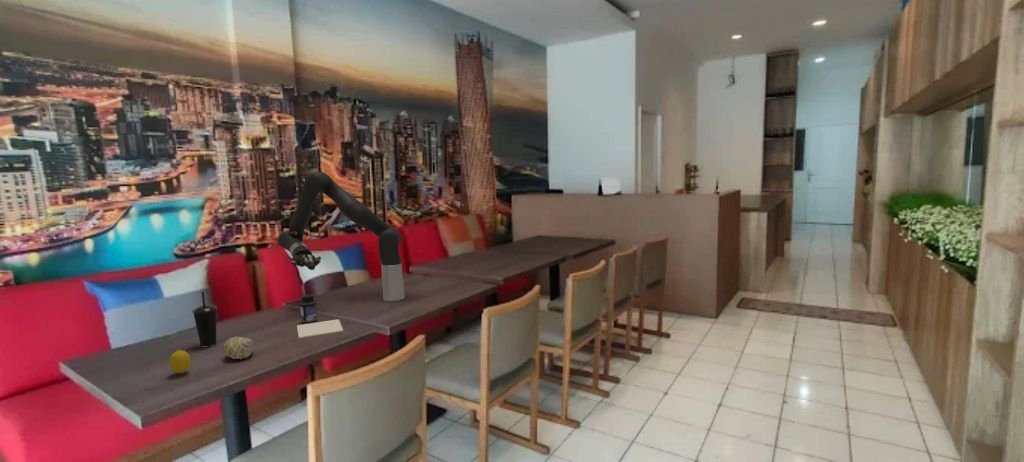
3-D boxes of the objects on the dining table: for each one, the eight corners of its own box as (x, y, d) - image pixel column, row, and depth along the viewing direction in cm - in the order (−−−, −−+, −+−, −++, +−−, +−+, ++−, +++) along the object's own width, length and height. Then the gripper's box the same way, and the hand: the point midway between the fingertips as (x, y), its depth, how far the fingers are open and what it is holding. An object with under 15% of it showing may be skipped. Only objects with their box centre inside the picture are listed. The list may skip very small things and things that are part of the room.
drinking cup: (225, 342, 186) (219, 289, 183) (207, 350, 179) (201, 295, 176) (210, 340, 189) (204, 288, 186) (191, 347, 182) (184, 294, 179)
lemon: (177, 370, 162) (174, 347, 161) (195, 369, 163) (192, 346, 161) (167, 378, 157) (164, 353, 155) (186, 377, 157) (182, 352, 156)
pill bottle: (320, 319, 211) (318, 293, 210) (313, 324, 205) (311, 297, 204) (306, 319, 212) (304, 293, 210) (298, 323, 206) (296, 297, 204)
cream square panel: (338, 320, 209) (338, 319, 209) (343, 331, 196) (343, 330, 196) (297, 326, 202) (296, 325, 202) (298, 338, 189) (298, 337, 189)
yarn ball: (235, 347, 179) (244, 323, 177) (256, 361, 178) (266, 337, 176) (212, 357, 169) (222, 332, 168) (234, 372, 168) (245, 347, 166)
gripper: (285, 245, 221) (297, 260, 208) (316, 244, 229) (329, 258, 217) (284, 261, 223) (295, 277, 210) (314, 260, 231) (327, 275, 219)
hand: (312, 267), depth 214 cm, fingers closed
